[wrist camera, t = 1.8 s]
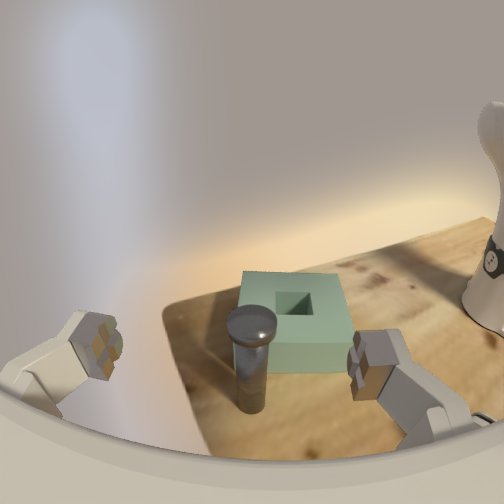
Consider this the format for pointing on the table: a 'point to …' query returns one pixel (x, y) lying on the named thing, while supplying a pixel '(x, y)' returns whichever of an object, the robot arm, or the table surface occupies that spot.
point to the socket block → (302, 320)
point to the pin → (251, 352)
